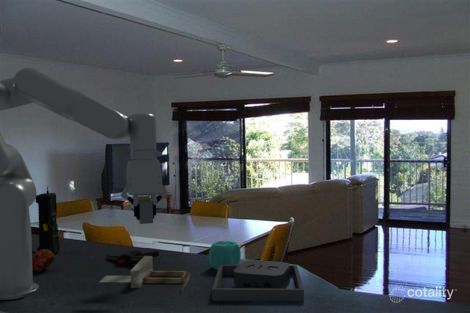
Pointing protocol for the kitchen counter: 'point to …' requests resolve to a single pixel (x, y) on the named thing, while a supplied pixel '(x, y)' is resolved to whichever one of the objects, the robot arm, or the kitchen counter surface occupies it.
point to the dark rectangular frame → (255, 289)
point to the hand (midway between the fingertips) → (145, 217)
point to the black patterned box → (130, 257)
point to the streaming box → (262, 274)
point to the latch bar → (145, 210)
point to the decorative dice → (224, 254)
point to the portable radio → (48, 222)
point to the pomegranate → (42, 260)
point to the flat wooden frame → (149, 275)
